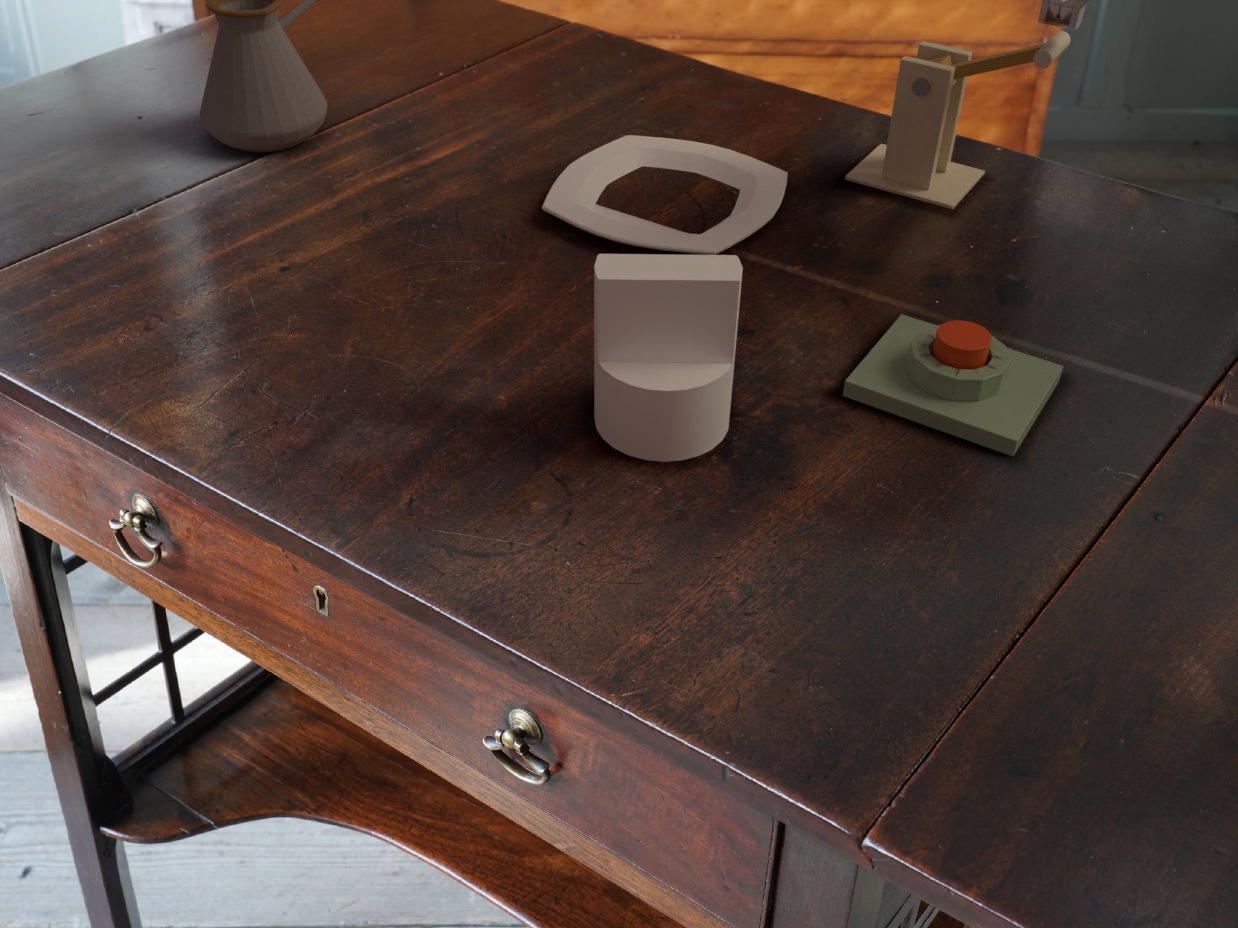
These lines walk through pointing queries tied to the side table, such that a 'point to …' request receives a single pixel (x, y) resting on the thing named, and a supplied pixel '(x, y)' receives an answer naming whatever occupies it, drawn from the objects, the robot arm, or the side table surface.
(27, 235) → the side table surface
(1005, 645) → the side table surface
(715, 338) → the cylinder with rectangular tab
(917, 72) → the bracket
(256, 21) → the coffee pot
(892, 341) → the button housing
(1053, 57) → the lever handle
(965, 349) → the lamp button
